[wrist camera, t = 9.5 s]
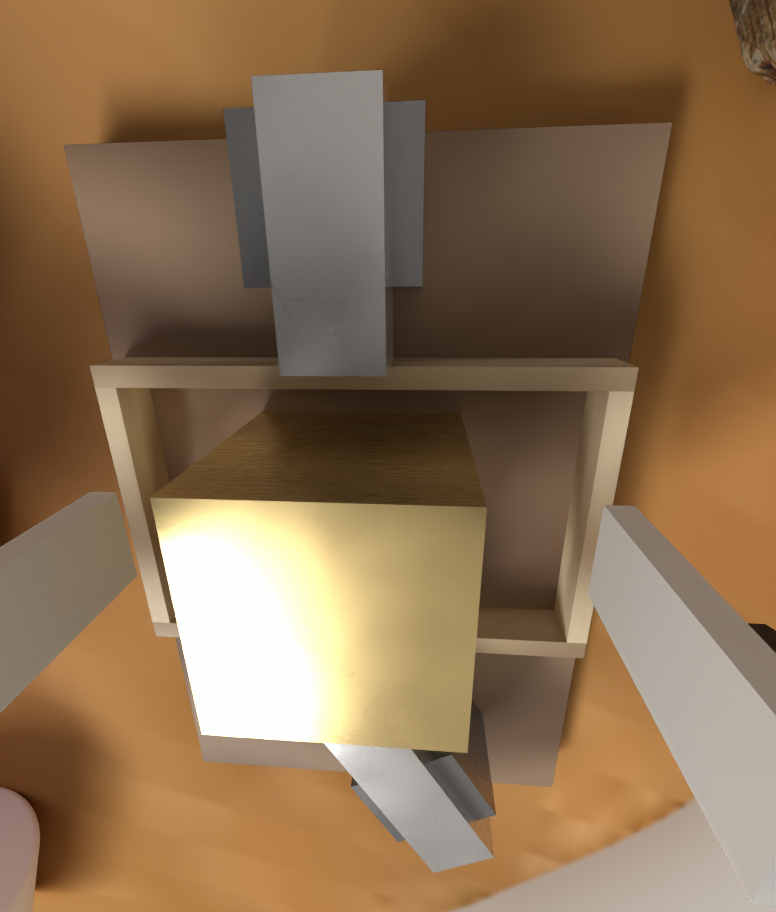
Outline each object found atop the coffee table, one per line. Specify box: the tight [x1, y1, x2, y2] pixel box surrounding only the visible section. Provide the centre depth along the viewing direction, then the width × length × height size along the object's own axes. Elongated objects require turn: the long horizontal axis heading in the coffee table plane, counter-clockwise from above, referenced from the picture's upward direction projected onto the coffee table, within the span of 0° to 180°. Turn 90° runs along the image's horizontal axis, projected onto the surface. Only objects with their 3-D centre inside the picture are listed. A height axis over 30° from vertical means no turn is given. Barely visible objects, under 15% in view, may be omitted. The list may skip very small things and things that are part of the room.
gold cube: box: [150, 411, 487, 753], centre depth 12 cm, size 6×6×6 cm
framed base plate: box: [64, 122, 672, 787], centre depth 15 cm, size 23×15×3 cm, turn 1°
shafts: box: [223, 70, 496, 873], centre depth 13 cm, size 22×6×4 cm, turn 1°
